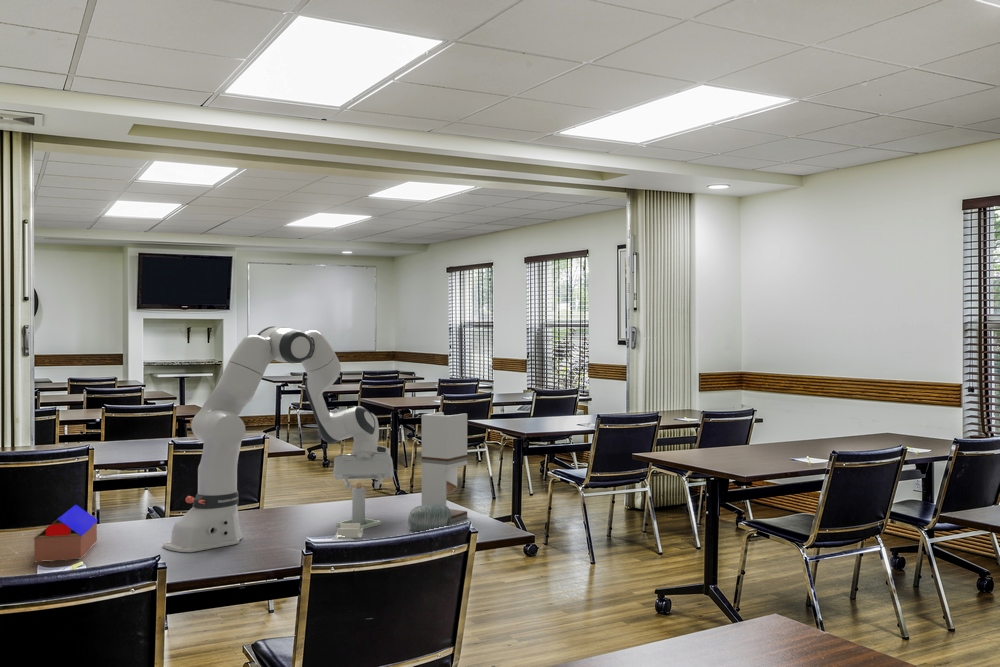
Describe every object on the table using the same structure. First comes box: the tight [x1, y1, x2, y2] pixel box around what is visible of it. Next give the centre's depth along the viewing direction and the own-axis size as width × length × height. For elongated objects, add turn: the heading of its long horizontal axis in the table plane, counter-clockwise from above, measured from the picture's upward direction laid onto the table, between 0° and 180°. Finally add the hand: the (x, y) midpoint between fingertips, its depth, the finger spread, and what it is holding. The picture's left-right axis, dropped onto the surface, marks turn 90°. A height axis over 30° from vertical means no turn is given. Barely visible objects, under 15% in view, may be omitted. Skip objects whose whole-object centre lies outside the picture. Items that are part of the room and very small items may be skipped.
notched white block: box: [421, 411, 468, 524], centre depth 269 cm, size 11×11×35 cm
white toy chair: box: [334, 523, 365, 539], centre depth 246 cm, size 8×11×3 cm
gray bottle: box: [351, 482, 366, 526], centre depth 256 cm, size 4×4×14 cm
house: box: [33, 504, 98, 561], centre depth 227 cm, size 12×20×12 cm, turn 15°
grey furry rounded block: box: [407, 504, 451, 532], centre depth 252 cm, size 14×10×10 cm
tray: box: [335, 517, 382, 530], centre depth 256 cm, size 10×10×2 cm
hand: (362, 488), depth 268 cm, fingers open, 8 cm apart
